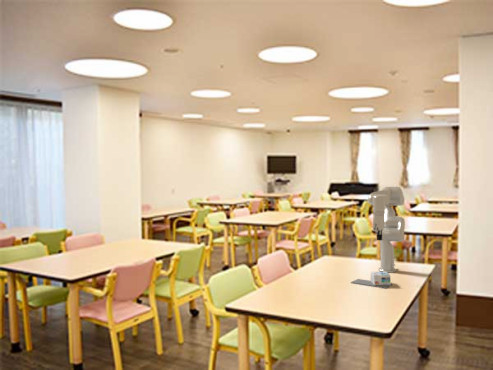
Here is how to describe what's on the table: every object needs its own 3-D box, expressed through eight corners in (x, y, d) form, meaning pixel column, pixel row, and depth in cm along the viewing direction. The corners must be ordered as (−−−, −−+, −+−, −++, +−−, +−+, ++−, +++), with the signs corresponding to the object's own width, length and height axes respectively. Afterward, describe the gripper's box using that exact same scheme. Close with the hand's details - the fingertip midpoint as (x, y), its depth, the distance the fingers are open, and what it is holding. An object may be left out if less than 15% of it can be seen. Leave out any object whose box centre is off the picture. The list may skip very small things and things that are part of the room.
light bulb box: (386, 271, 279) (390, 275, 268) (386, 281, 279) (391, 285, 268) (370, 271, 279) (373, 275, 268) (370, 281, 279) (374, 285, 269)
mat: (357, 279, 287) (357, 278, 287) (392, 285, 271) (392, 284, 271) (350, 283, 279) (350, 282, 279) (386, 288, 263) (386, 287, 263)
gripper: (378, 212, 293) (378, 238, 294) (369, 214, 282) (369, 241, 282) (388, 212, 288) (389, 239, 289) (379, 214, 277) (380, 242, 278)
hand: (379, 240), depth 286 cm, fingers closed
